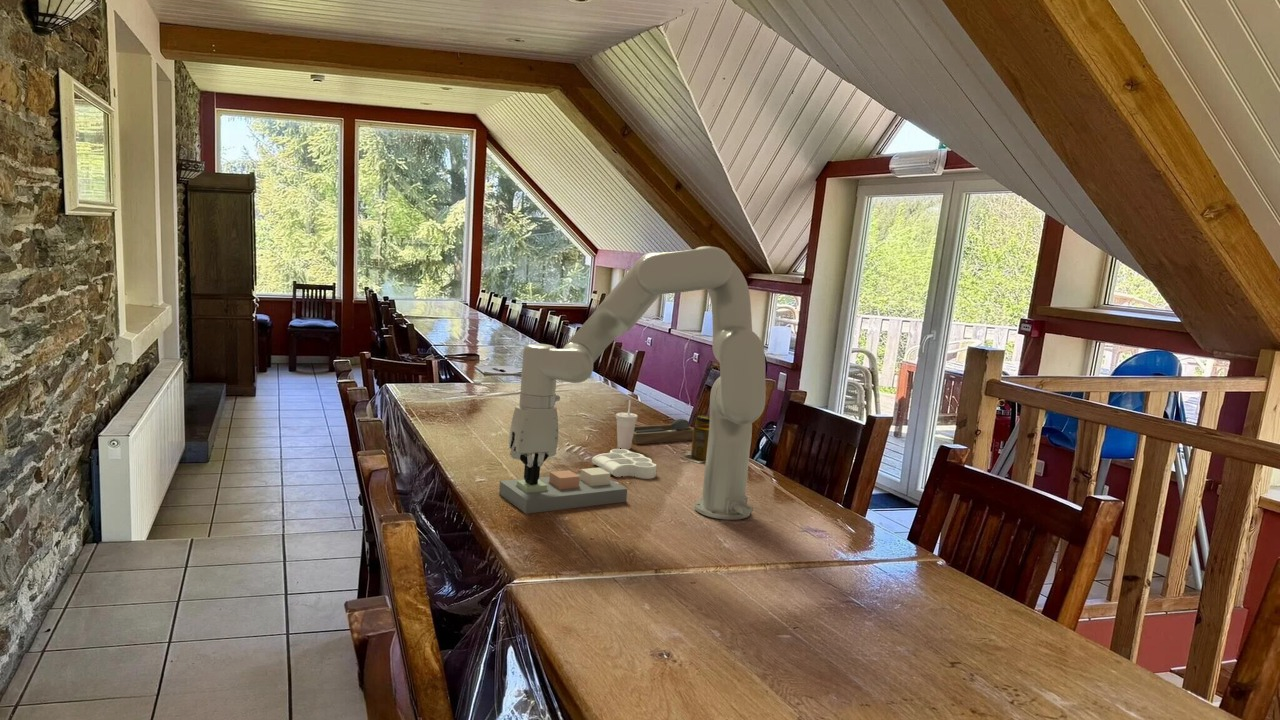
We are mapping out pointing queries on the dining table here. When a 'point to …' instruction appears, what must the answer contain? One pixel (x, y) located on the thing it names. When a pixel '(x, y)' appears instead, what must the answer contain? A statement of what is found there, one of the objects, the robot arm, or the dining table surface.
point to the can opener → (676, 425)
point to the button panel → (561, 496)
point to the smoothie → (625, 428)
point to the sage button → (531, 486)
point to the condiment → (699, 440)
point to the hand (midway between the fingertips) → (531, 482)
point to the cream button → (595, 476)
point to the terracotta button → (564, 479)
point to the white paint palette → (626, 464)
